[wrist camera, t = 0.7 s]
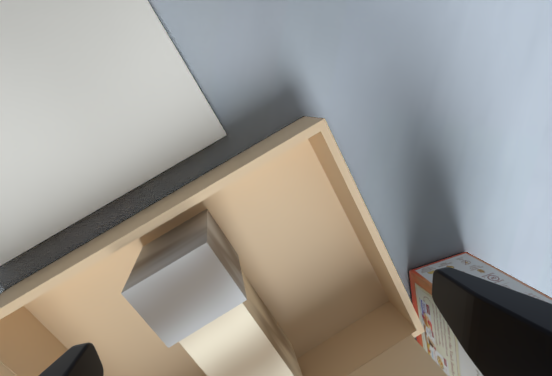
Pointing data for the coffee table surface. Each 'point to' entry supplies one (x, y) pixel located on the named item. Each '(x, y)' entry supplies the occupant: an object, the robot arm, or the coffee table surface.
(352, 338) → the carton
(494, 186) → the coffee table surface
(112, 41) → the grey mat
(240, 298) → the grey and cream hammer
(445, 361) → the cracker box
